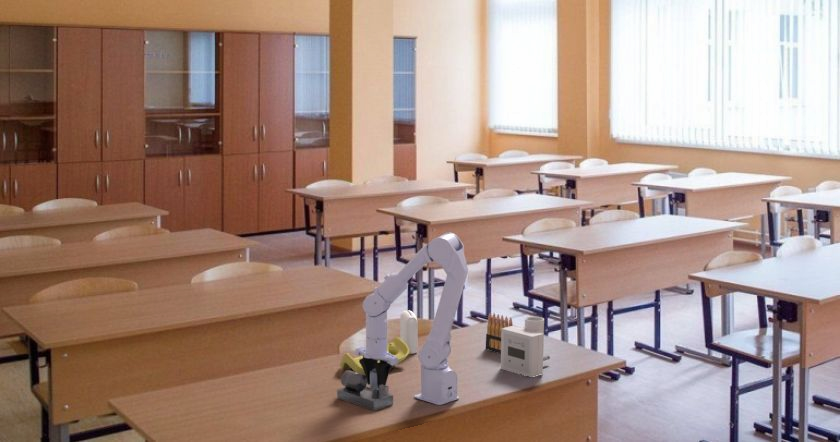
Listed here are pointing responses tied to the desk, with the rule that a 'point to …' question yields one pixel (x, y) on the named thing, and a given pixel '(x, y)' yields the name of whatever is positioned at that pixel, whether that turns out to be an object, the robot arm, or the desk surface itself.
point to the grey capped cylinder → (373, 379)
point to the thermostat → (523, 347)
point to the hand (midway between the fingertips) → (376, 385)
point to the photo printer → (409, 330)
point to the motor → (363, 392)
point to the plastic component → (394, 347)
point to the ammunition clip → (495, 331)
